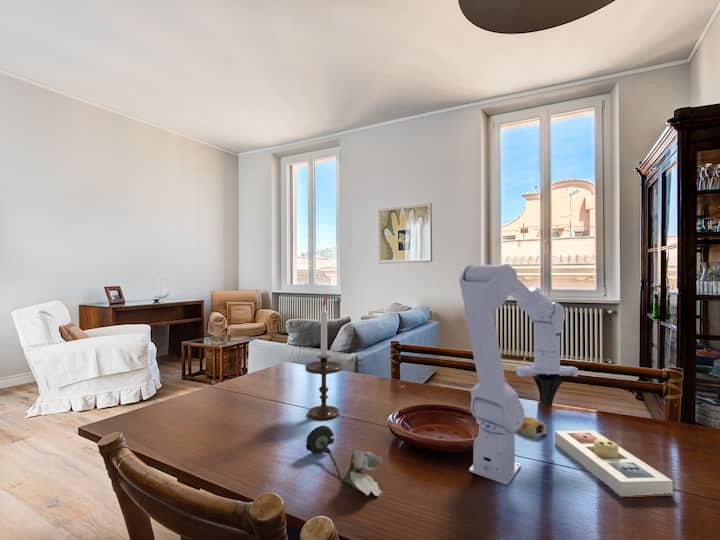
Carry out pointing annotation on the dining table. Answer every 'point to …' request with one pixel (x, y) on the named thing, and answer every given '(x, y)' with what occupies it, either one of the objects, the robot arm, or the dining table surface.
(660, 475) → the button panel
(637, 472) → the slate button
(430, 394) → the dining table surface
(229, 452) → the dining table surface
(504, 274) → the robot arm
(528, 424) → the pastry
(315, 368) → the candlestick
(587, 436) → the terracotta button
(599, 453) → the mustard button
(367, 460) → the artificial flower
